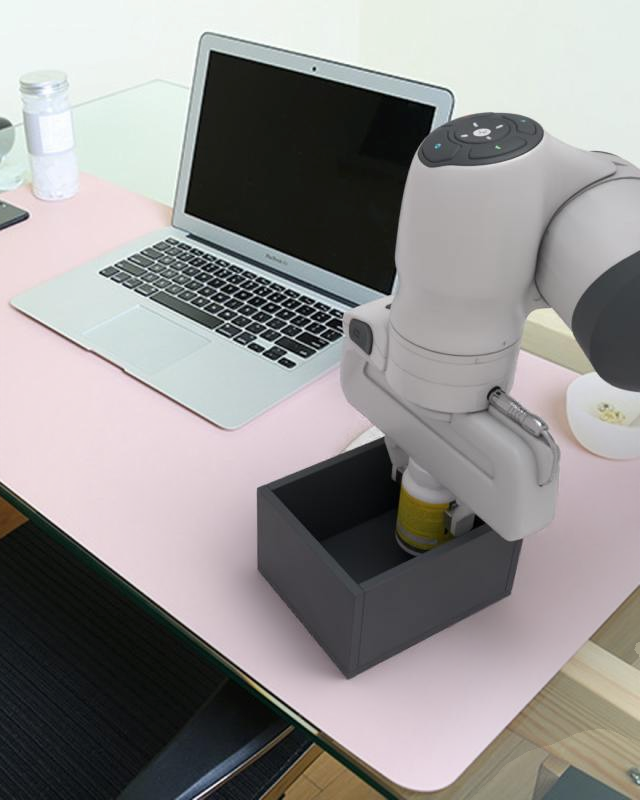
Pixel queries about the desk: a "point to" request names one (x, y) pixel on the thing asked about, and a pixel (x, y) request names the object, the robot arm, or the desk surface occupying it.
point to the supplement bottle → (422, 511)
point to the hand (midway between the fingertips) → (429, 504)
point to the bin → (369, 561)
